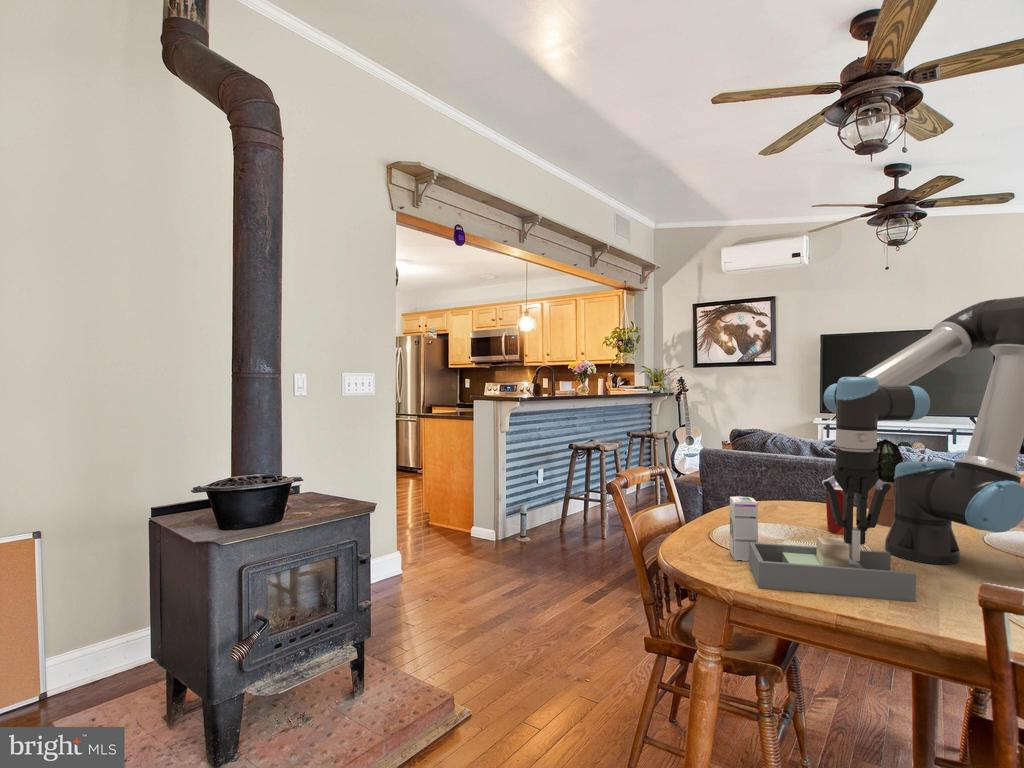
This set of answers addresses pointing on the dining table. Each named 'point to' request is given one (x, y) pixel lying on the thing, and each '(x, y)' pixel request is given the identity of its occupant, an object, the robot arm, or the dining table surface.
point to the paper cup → (831, 524)
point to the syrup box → (743, 526)
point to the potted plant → (886, 478)
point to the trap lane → (829, 573)
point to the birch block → (832, 552)
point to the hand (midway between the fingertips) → (853, 558)
